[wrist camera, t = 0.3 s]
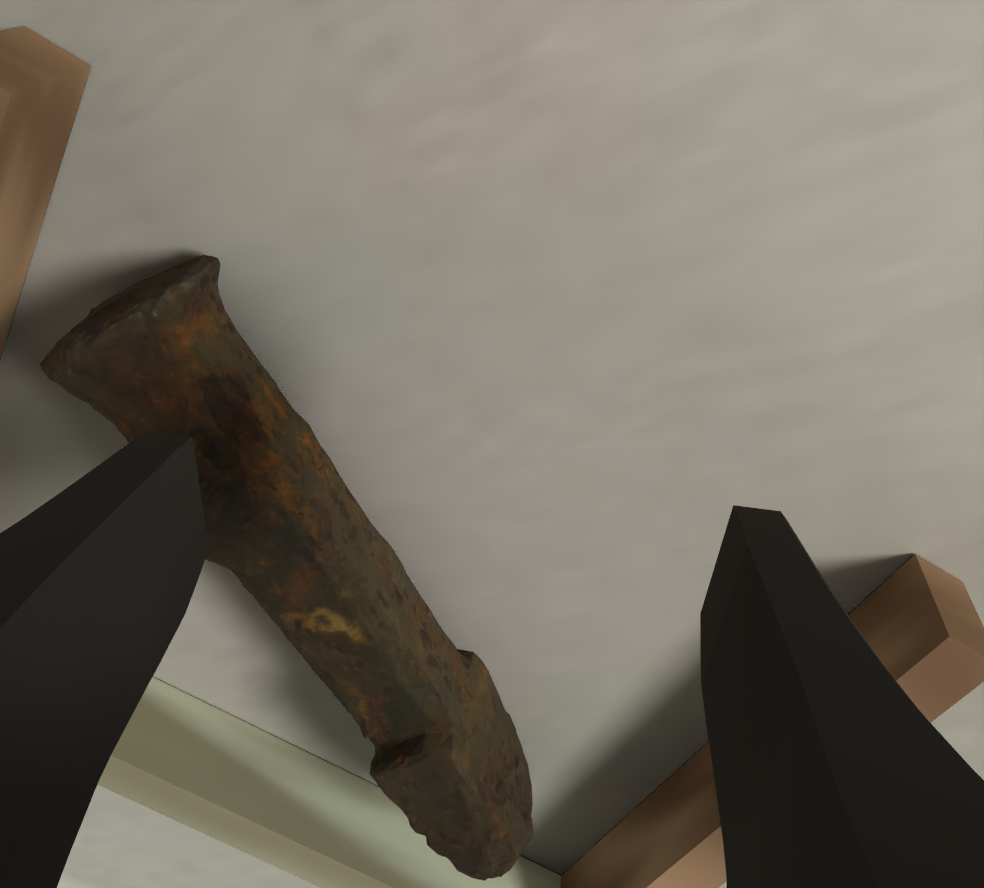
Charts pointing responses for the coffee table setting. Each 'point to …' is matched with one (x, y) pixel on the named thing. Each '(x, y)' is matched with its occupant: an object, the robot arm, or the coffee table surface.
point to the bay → (333, 791)
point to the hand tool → (310, 558)
